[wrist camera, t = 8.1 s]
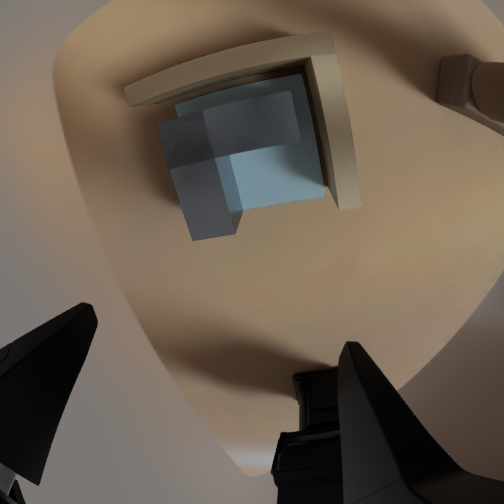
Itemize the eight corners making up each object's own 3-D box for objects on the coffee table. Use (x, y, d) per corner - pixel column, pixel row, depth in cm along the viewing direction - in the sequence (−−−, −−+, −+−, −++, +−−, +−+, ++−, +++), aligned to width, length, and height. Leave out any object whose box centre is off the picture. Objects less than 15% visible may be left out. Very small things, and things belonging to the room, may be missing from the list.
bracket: (178, 118, 16) (155, 124, 13) (289, 92, 15) (290, 90, 12) (206, 216, 20) (192, 241, 17) (309, 199, 18) (314, 222, 15)
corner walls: (346, 184, 18) (360, 207, 14) (192, 212, 20) (173, 239, 16) (319, 45, 13) (329, 31, 10) (154, 87, 15) (123, 87, 12)
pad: (325, 195, 18) (325, 196, 18) (208, 215, 20) (208, 217, 20) (301, 74, 14) (301, 73, 14) (175, 104, 16) (174, 105, 16)
